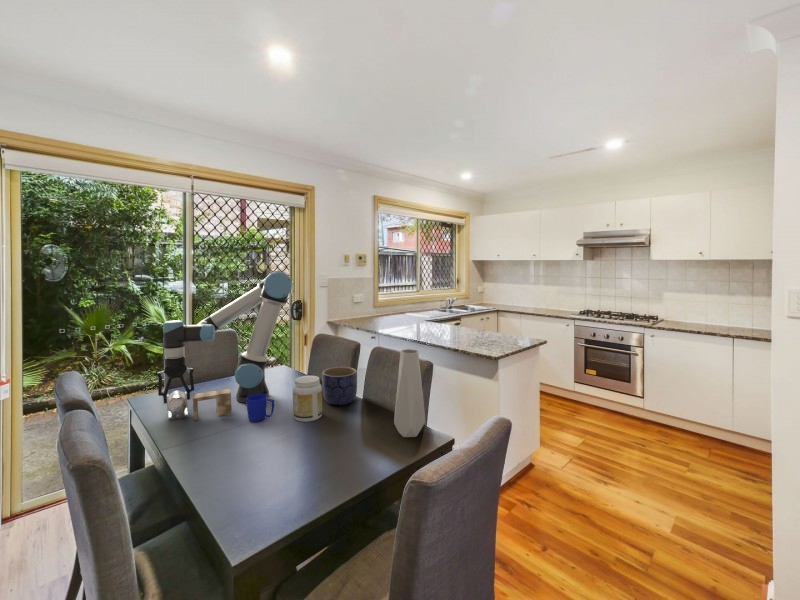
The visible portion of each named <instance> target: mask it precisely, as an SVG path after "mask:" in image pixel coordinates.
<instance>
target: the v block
mask: <svg viewBox="0 0 800 600" xmlns="http://www.w3.org/2000/svg"><path fill="white" fill-rule="evenodd" d="M188 415H189V414H188V408H185V410H184V412H183V413H181V414H178V415H174V414H172V413H171V412H170V411H168V421H173V420H178V419H183V418H189V416H188Z"/></svg>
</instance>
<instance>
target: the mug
mask: <svg viewBox="0 0 800 600" xmlns="http://www.w3.org/2000/svg"><path fill="white" fill-rule="evenodd" d="M267 402H270V403H271V410H270V413H269V415H268V414H267ZM245 404H246V408H247V409H246V410H247V418H248V421H250V422H252V423H257V422H261V421H264V420H265V418H270V417H272V416H273V414H274V410H275V409H274V408H275V399H272V398H271V399H270V398H267V395H265V394H253V395H249V396H247V397H246V403H245Z"/></svg>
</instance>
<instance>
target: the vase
mask: <svg viewBox="0 0 800 600" xmlns="http://www.w3.org/2000/svg"><path fill="white" fill-rule="evenodd" d="M398 365H399V366H398V372H397V373H398V374H397V382H396V383H397V384H396V393H395V394H396V395H395V406H394V415H393V416H394V419H393V424H394V425H395V428H396V429H397V432H398V433H399V434H400V435H401V436H402V438H416V437H418V435H419V434H420V432H421V431H422V428H423V427H424V425H425V423H426V412H425V404H424V393H423V384H422V375H421V367H420V366H421V364H420V355H419V350H417V349H410V348H408V349H401V350H400V353H399V364H398Z"/></svg>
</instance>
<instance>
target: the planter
mask: <svg viewBox="0 0 800 600" xmlns="http://www.w3.org/2000/svg"><path fill="white" fill-rule="evenodd" d="M321 376H322V377H321V378H322V381H321V383H322V384H321V386H322V397H323V398H324V400H325V401H326V402H327V403H328V404H330V405H333V406H344V405H348V404H350V403H352V402H353V401H354V400H355V398H356V396H357V391H358V370H357V369H356V368H353V367H349V366H348V367H347V366H336V367H335V366H334V367H329V368H326V369H324V370H323V371H322V374H321Z"/></svg>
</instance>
